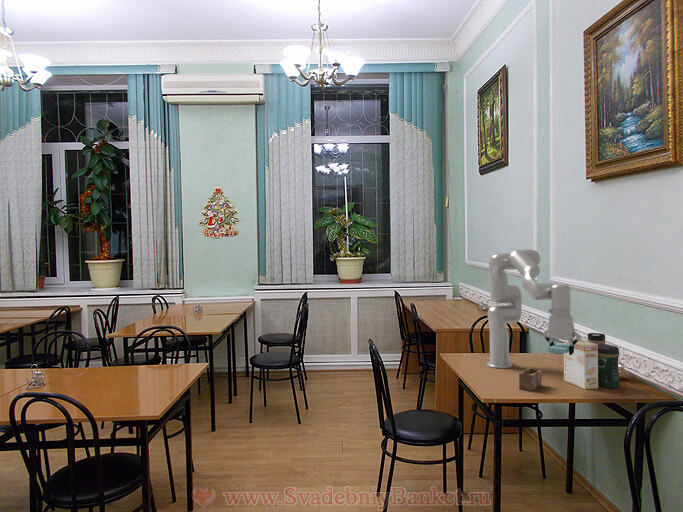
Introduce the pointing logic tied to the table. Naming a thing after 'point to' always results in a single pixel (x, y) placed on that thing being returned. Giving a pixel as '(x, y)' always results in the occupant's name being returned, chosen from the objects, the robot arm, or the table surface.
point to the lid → (559, 348)
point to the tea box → (530, 379)
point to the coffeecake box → (582, 365)
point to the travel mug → (596, 338)
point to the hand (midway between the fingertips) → (561, 353)
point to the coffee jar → (608, 366)
